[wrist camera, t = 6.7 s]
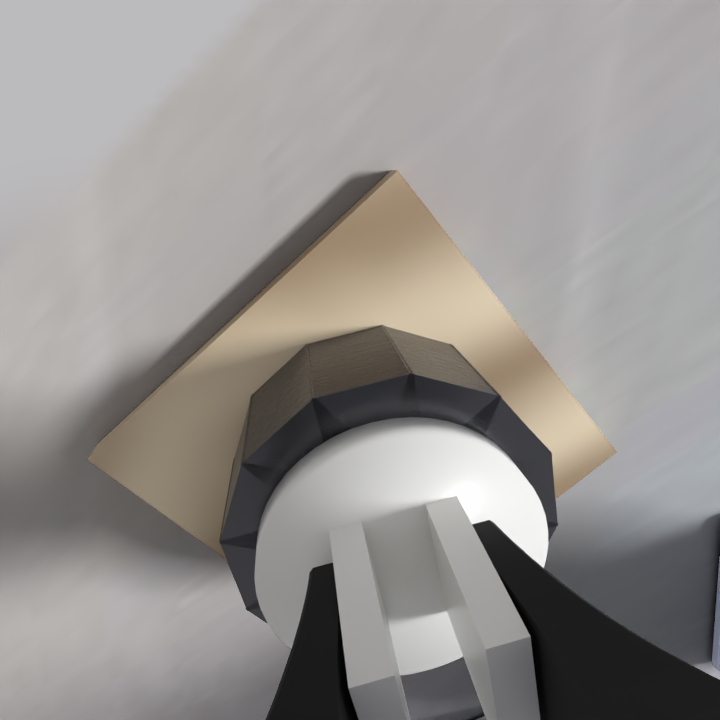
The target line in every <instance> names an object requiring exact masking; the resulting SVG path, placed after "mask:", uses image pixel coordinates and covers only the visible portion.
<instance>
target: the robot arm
mask: <svg viewBox="0 0 720 720" xmlns="http://www.w3.org/2000/svg"><path fill="white" fill-rule="evenodd" d="M472 526H473V527H474V529H475V531H476V533H477V535H478V537H479V539H480V541H481V543H482V545H483V547H484V548H485V550H486V552H487V554H488V556H489V558H490V560H491V562H492V564H493V566H494V568H495V569H496V571H497V573H498V575H499V577H500V579H501V581H502V583H503V585H504V587H505V589H506V591H507V592H508V594H509V596H510V598H511V600H512V602H513V604H514V606H515V608H516V610H517V612H518V613H519V615H520V617H521V619H522V621H523V623H524V625H525V627H526V629H527V631H528V633H529V634H530V636H531V644H532V653H533V661H534V670H535V678H536V687H537V695H538V703H539V712H540V720H720V680H719V679H717V678H715V677H712V676H711V675H709V674H707V673H705V672H703V671H701V670H699V669H697V668H696V667H694V666H692V665H690V664H688V663H686V662H684V661H682V660H680V659H679V658H677V657H675V656H673V655H671V654H669V653H667V652H665V651H664V650H662V649H660V648H658V647H657V646H655V645H653V644H652V643H650V642H648V641H647V640H645V639H643V638H641V637H640V636H638V635H636V634H635V633H633V632H632V631H630V630H628V629H627V628H625V627H624V626H622V625H621V624H619V623H617V622H616V621H614V620H613V619H611V618H610V617H608V616H607V615H605V614H604V613H602V612H601V611H599V610H598V609H597V608H595V607H594V606H592V605H591V604H590V603H588V602H587V601H585V600H584V599H583V598H581V597H580V596H579V595H577V594H576V593H575V592H573V591H572V590H571V589H569V588H568V587H567V586H565V585H564V584H563V583H561V582H560V581H559V580H558V579H556V578H555V577H554V576H553V575H552V574H550V573H549V572H548V571H547V570H545V569H544V568H543V567H542V566H541V565H539V564H538V563H537V562H536V561H535V560H533V559H532V558H531V557H530V556H529V555H528V554H527V553H525V552H524V551H523V550H522V549H521V548H520V547H519V546H518V545H517V544H515V543H514V542H513V541H512V540H511V539H510V538H509V537H508V536H507V535H506V534H505V533H504V532H503V531H502V530H501V529H500V528H499V527H498V526H497V525H496V524H495V523H494V522H492V521H490V520H487V521H483V522H479V523H476V524H472ZM712 664H713V665H714V667H715V668H716V669H717V670H718V671H720V558H719V571H718V585H717V599H716V612H715V626H714V640H713V653H712ZM266 720H358V717H357V713H356V710H355V707H354V704H353V701H352V698H351V695H350V692H349V689H348V682H347V674H346V665H345V657H344V649H343V641H342V632H341V624H340V616H339V608H338V599H337V591H336V583H335V575H334V566H333V563H329V564H325V565H322V566H318V567H314V568H312V570H311V571H310V573H309V580H308V586H307V591H306V596H305V601H304V605H303V609H302V613H301V618H300V621H299V625H298V628H297V632H296V635H295V639H294V642H293V646H292V649H291V652H290V655H289V658H288V661H287V664H286V667H285V670H284V673H283V676H282V678H281V681H280V684H279V687H278V690H277V693H276V695H275V698H274V700H273V703H272V705H271V708H270V710H269V713H268V715H267V718H266Z"/></svg>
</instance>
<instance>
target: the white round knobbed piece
mask: <svg viewBox="0 0 720 720" xmlns="http://www.w3.org/2000/svg"><path fill="white" fill-rule="evenodd" d="M487 520H490V521H492V522H494V523H495V524H496V525H497V526H498V527H499V528H500V529H501V530H502V531H503V532H504V533H505V534H506V535H507V536H508V537H509V538H510V539H511V540H512V541H513V542H514V543H515V544H517V545H518V546H519V547H520V548H521V549H522V550H523V551H524V552H525V553H527V554H528V555H529V556H530V557H531V558H532V559H533V560H535V561H536V562H537V563H538V564H539V565H541V566H542V567H543V568H544V565H545V562H546V557H547V550H548V526H547V521H546V515H545V512H544V509H543V506H542V504H541V501H540V499H539V497H538V495H537V494H536V492H535V490H534V488H533V487H532V485H531V484H530V483H529V482H528V480H527V479H526V478H525V476H524V475H523V474H522V472H521V471H520V470H519V469H518V467H517V466H516V465H515V463H514V462H513V461H512V460H511V459H510V457H509V456H508V455H507V454H506V453H505V452H504V451H503V450H502V449H501V448H500V447H499V446H498V445H497V444H495V443H494V442H493V441H491V440H490V439H488V438H487V437H485V436H484V435H482V434H480V433H478V432H476V431H474V430H472V429H470V428H468V427H465V426H462V425H459V424H456V423H453V422H449V421H445V420H439V419H433V418H419V417H405V418H392V419H386V420H381V421H376V422H371V423H368V424H364V425H361V426H358V427H355V428H352V429H350V430H347V431H345V432H343V433H341V434H339V435H336V436H334V437H332V438H330V439H329V440H327V441H325V442H324V443H322V444H320V445H319V446H317V447H316V448H314V449H313V450H312V451H310V452H309V453H308V454H307V455H305V456H304V457H303V458H301V459H300V460H299V461H298V462H297V463H296V464H295V465H294V466H293V467H292V468H291V469H290V470H289V471H288V472H287V473H286V475H285V476H284V477H283V478H282V480H281V481H280V482H279V484H278V485H277V486H276V488H275V489H274V491H273V493H272V495H271V496H270V498H269V500H268V502H267V504H266V506H265V509H264V512H263V514H262V517H261V520H260V525H259V529H258V534H257V546H256V559H255V576H254V580H255V588H256V595H257V599H258V602H259V605H260V609H261V611H262V613H263V615H264V617H265V619H266V621H267V623H268V624H269V626H270V627H271V629H272V630H273V631H274V633H275V634H276V635H277V636H278V637H279V638H280V639H281V640H282V641H283V642H284V643H285V644H286V645H287V646H288V647H289V648H290V649H292V646H293V642H294V639H295V635H296V632H297V628H298V625H299V621H300V618H301V613H302V609H303V605H304V601H305V596H306V591H307V586H308V580H309V573H310V571H311V570H312V568H314V567H318V566H322V565H325V564H329V563H333V566H334V575H335V583H336V591H337V599H338V608H339V616H340V624H341V632H342V641H343V649H344V657H345V665H346V674H347V682H348V689H349V692H350V695H351V698H352V701H353V704H354V707H355V710H356V713H357V717H358V720H410V716H409V712H408V707H407V703H406V699H405V694H404V690H403V685H402V681H401V677H400V675H407V674H414V673H418V672H422V671H426V670H430V669H433V668H436V667H439V666H442V665H445V664H448V663H450V662H452V661H455V660H457V659H459V658H462V657H464V660H465V662H466V665H467V668H468V671H469V673H470V676H471V679H472V682H473V684H474V687H475V690H476V693H477V695H478V698H479V701H480V704H481V706H482V709H483V712H484V715H485V717H486V720H540V712H539V703H538V695H537V687H536V678H535V670H534V661H533V653H532V644H531V636H530V634H529V633H528V631H527V629H526V627H525V625H524V623H523V621H522V619H521V617H520V615H519V613H518V612H517V610H516V608H515V606H514V604H513V602H512V600H511V598H510V596H509V594H508V592H507V591H506V589H505V587H504V585H503V583H502V581H501V579H500V577H499V575H498V573H497V571H496V569H495V568H494V566H493V564H492V562H491V560H490V558H489V556H488V554H487V552H486V550H485V548H484V547H483V545H482V543H481V541H480V539H479V537H478V535H477V533H476V531H475V529H474V527H473V526H472V524H476V523H479V522H483V521H487Z"/></svg>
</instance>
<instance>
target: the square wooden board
mask: <svg viewBox="0 0 720 720" xmlns="http://www.w3.org/2000/svg"><path fill="white" fill-rule="evenodd" d="M380 325H384V326H386V327H390V328H394V329H397V330H401V331H404V332H408V333H412V334H415V335H419V336H423V337H426V338H430V339H434V340H437V341H441V342H445V343H448V344H452V345H454V347H455V348H456V349H457V350H458V351H459V352H460V353H461V354H462V355H463V356H464V357H465V358H466V359H467V360H468V361H469V362H470V363H471V365H472V366H473V367H474V368H475V369H476V370H477V371H478V372H479V373H480V374H481V375H482V376H483V377H484V378H485V379H486V380H487V381H488V383H489V384H490V385H491V386H492V387H493V388H494V389H495V390H496V391H497V392H498V393H499V394H500V395H501V396H502V397H501V398H502V399H503V400H504V401H505V402H506V403H507V404H508V405H509V407H510V408H511V409H512V410H513V411H514V412H515V413H516V414H517V415H518V417H519V418H520V419H521V420H522V421H523V422H524V423H525V424H526V426H527V427H528V428H529V429H530V430H531V431H532V432H533V433H534V434H535V435H536V436H537V437H538V438H539V439H540V440H541V442H542V443H543V444H544V445H545V446H546V447H547V448H548V449H549V450H550V451H551V452H552V464H553V476H554V488H555V499H557V498H558V497H559V496H561V495H562V494H563V493H564V492H566V491H567V490H568V489H570V488H571V487H572V486H574V485H575V484H576V483H577V482H579V481H580V480H581V479H583V478H584V477H585V476H587V475H588V474H589V473H590V472H592V471H593V470H594V469H596V468H597V467H598V466H600V465H601V464H602V463H603V462H605V461H606V460H607V459H609V458H610V457H611V456H613V455H614V454H615V453H616V452H617V451H616V450H615V449H614V447H613V446H612V445H611V443H610V442H609V441H608V440H607V438H606V437H605V436H604V435H603V433H602V432H601V431H600V429H599V428H598V427H597V426H596V424H595V423H594V422H593V420H592V419H591V418H590V417H589V415H588V414H587V413H586V411H585V410H584V409H583V408H582V406H581V405H580V404H579V402H578V401H577V400H576V399H575V397H574V396H573V395H572V393H571V392H570V391H569V390H568V388H567V387H566V386H565V384H564V383H563V382H562V381H561V379H560V378H559V377H558V375H557V374H556V373H555V372H554V370H553V369H552V368H551V367H550V365H549V364H548V363H547V361H546V360H545V359H544V358H543V356H542V355H541V354H540V352H539V351H538V350H537V349H536V347H535V346H534V345H533V343H532V342H531V341H530V340H529V338H528V337H527V336H526V334H525V333H524V332H523V331H522V329H521V328H520V327H519V325H518V324H517V323H516V322H515V320H514V319H513V318H512V316H511V315H510V314H509V313H508V311H507V310H506V309H505V307H504V306H503V305H502V304H501V302H500V301H499V300H498V299H497V297H496V296H495V295H494V293H493V292H492V291H491V290H490V288H489V287H488V286H487V284H486V283H485V282H484V281H483V279H482V278H481V277H480V275H479V274H478V273H477V272H476V270H475V269H474V268H473V266H472V265H471V264H470V263H469V261H468V260H467V259H466V257H465V256H464V255H463V254H462V252H461V251H460V250H459V248H458V247H457V246H456V245H455V243H454V242H453V241H452V239H451V238H450V237H449V236H448V234H447V233H446V232H445V231H444V229H443V228H442V227H441V225H440V224H439V223H438V222H437V220H436V219H435V218H434V216H433V215H432V214H431V213H430V211H429V210H428V209H427V207H426V206H425V205H424V204H423V202H422V201H421V200H420V198H419V197H418V196H417V195H416V193H415V192H414V191H413V189H412V188H411V187H410V186H409V184H408V183H407V182H406V180H405V179H404V178H403V177H402V175H401V174H400V173H399V171H395V170H391V171H390V172H389V173H388V174H387V175H385V176H384V177H383V178H382V179H381V180H380V181H379V182H378V183H377V184H376V185H375V186H374V187H373V188H371V189H370V190H369V191H368V192H367V193H366V194H365V195H364V196H363V197H362V198H361V199H360V200H359V201H358V202H356V203H355V204H354V205H353V206H352V207H351V208H350V209H349V210H348V211H347V212H346V213H345V214H344V215H343V216H341V217H340V218H339V219H338V220H337V221H336V222H335V223H334V224H333V225H332V226H331V227H330V228H329V229H328V230H326V231H325V232H324V233H323V234H322V235H321V236H320V237H319V238H318V239H317V240H316V241H315V242H314V243H312V244H311V245H310V246H309V247H308V248H307V249H306V250H305V251H304V252H303V253H302V254H301V255H300V256H299V257H297V258H296V259H295V260H294V261H293V262H292V263H291V264H290V265H289V266H288V267H287V268H286V269H285V270H284V271H282V272H281V273H280V274H279V275H278V276H277V277H276V278H275V279H274V280H273V281H272V282H271V283H270V284H268V285H267V286H266V287H265V288H264V289H263V290H262V291H261V292H260V293H259V294H258V295H257V296H256V297H255V298H253V299H252V300H251V301H250V302H249V303H248V304H247V305H246V306H245V307H244V308H243V309H242V310H241V311H240V312H238V313H237V314H236V315H235V316H234V317H233V318H232V319H231V320H230V321H229V322H228V323H227V324H226V325H225V326H223V327H222V328H221V329H220V330H219V331H218V332H217V333H216V334H215V335H214V336H213V337H212V338H211V339H209V340H208V341H207V342H206V343H205V344H204V345H203V346H202V347H201V348H200V349H199V350H198V351H197V352H196V353H194V354H193V355H192V356H191V357H190V358H189V359H188V360H187V361H186V362H185V363H184V364H183V365H182V366H181V367H179V368H178V369H177V370H176V371H175V372H174V373H173V374H172V375H171V376H170V377H169V378H168V379H167V380H166V381H164V382H163V383H162V384H161V385H160V386H159V387H158V388H157V389H156V390H155V391H154V392H153V393H152V394H150V395H149V396H148V397H147V398H146V399H145V400H144V401H143V402H142V403H141V404H140V405H139V406H138V407H137V408H135V409H134V410H133V411H132V412H131V413H130V414H129V415H128V416H127V417H126V418H125V419H124V420H123V421H122V422H120V423H119V424H118V425H117V426H116V427H115V428H114V429H113V430H112V431H111V432H110V433H109V434H108V435H106V436H105V437H104V438H103V439H102V440H101V441H100V442H99V443H98V444H97V446H96V447H95V448H94V450H93V451H92V453H91V454H90V456H89V457H88V459H87V460H88V461H90V462H91V463H92V464H94V465H95V466H97V467H98V468H99V469H101V470H102V471H104V472H105V473H106V474H108V475H109V476H111V477H112V478H113V479H115V480H116V481H118V482H119V483H120V484H122V485H123V486H125V487H126V488H127V489H129V490H130V491H131V492H133V493H134V494H136V495H137V496H138V497H140V498H141V499H143V500H144V501H145V502H147V503H148V504H150V505H151V506H152V507H154V508H155V509H157V510H158V511H159V512H161V513H162V514H164V515H165V516H166V517H168V518H169V519H170V520H172V521H173V522H175V523H176V524H177V525H179V526H180V527H182V528H183V529H184V530H186V531H187V532H189V533H190V534H191V535H193V536H194V537H196V538H197V539H198V540H200V541H201V542H203V543H204V544H205V545H207V546H208V547H210V548H211V549H212V550H214V551H215V552H216V553H218V554H219V555H221V556H222V557H223V558H225V559H226V557H225V554H224V552H223V549H222V547H221V544H219V543H220V542H219V539H220V534H221V528H222V522H223V517H224V511H225V505H226V500H227V494H228V488H229V482H230V477H231V471H232V465H233V460H234V458H235V454H236V451H237V447H238V443H239V440H240V436H241V432H242V429H243V425H244V421H245V418H246V414H247V410H248V407H249V403H250V397H251V395H252V394H253V393H254V392H255V391H257V390H258V389H259V388H260V387H261V386H262V385H263V384H264V383H265V382H266V381H267V380H268V379H269V378H271V377H272V376H273V375H274V374H275V373H276V372H277V371H278V370H279V369H280V368H281V367H282V366H283V365H285V364H286V363H287V362H288V361H289V360H290V359H291V358H292V357H293V356H294V355H295V354H296V353H297V352H299V351H300V350H301V349H302V348H303V347H304V346H305V344H307V343H308V344H309V343H313V342H317V341H321V340H325V339H329V338H333V337H337V336H341V335H345V334H349V333H353V332H357V331H361V330H365V329H369V328H373V327H377V326H380ZM226 560H227V559H226Z"/></svg>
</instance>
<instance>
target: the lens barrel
mask: <svg viewBox="0 0 720 720" xmlns="http://www.w3.org/2000/svg"><path fill="white" fill-rule="evenodd" d="M501 397H502V396H501V395H500V394H499V393H498V392H497V391H496V390H495V389H494V388H493V387H492V386H491V385H490V384H489V383H488V381H487V380H486V379H485V378H484V377H483V376H482V375H481V374H480V373H479V372H478V371H477V370H476V369H475V368H474V367H473V366H472V365H471V363H470V362H469V361H468V360H467V359H466V358H465V357H464V356H463V355H462V354H461V353H460V352H459V351H458V350H457V349H456V348H455V347H454V345H452V344H448V343H445V342H441V341H437V340H434V339H430V338H426V337H423V336H419V335H415V334H412V333H408V332H404V331H401V330H397V329H394V328H390V327H386V326H384V325H380V326H377V327H373V328H369V329H365V330H361V331H357V332H353V333H349V334H345V335H341V336H337V337H333V338H329V339H325V340H321V341H317V342H313V343H309V344H308V343H307V344H305V346H304V347H303V348H302V349H301V350H300V351H299V352H297V353H296V354H295V355H294V356H293V357H292V358H291V359H290V360H289V361H288V362H287V363H286V364H285V365H283V366H282V367H281V368H280V369H279V370H278V371H277V372H276V373H275V374H274V375H273V376H272V377H271V378H269V379H268V380H267V381H266V382H265V383H264V384H263V385H262V386H261V387H260V388H259V389H258V390H257V391H255V392H254V393H253V394H252V395H251V397H250V403H249V407H248V410H247V414H246V418H245V421H244V425H243V429H242V432H241V436H240V440H239V443H238V447H237V451H236V454H235V458H234V460H233V465H232V471H231V477H230V482H229V488H228V494H227V500H226V505H225V511H224V517H223V522H222V528H221V534H220V539H219V542H220V543H219V544H221V547H222V549H223V552H224V554H225V557H226V559H227V562H228V564H229V567H230V569H231V571H232V574H233V576H234V579H235V581H236V584H237V586H238V589H239V591H240V594H241V596H242V599H243V601H244V604H245V606H246V610H247V611H250V612H251V613H253V614H254V615H256V616H257V617H259V618H260V619H262V620H263V621H265V622H266V623H267V621H266V619H265V617H264V615H263V613H262V611H261V609H260V605H259V602H258V599H257V595H256V588H255V580H254V576H255V559H256V546H257V534H258V529H259V525H260V520H261V517H262V514H263V512H264V509H265V506H266V504H267V502H268V500H269V498H270V496H271V495H272V493H273V491H274V489H275V488H276V486H277V485H278V484H279V482H280V481H281V480H282V478H283V477H284V476H285V475H286V473H287V472H288V471H289V470H290V469H291V468H292V467H293V466H294V465H295V464H296V463H297V462H298V461H299V460H300V459H301V458H303V457H304V456H305V455H307V454H308V453H309V452H310V451H312V450H313V449H314V448H316V447H317V446H319V445H320V444H322V443H324V442H325V441H327V440H329V439H330V438H332V437H334V436H336V435H339V434H341V433H343V432H345V431H347V430H350V429H352V428H355V427H358V426H361V425H364V424H368V423H371V422H376V421H381V420H386V419H392V418H405V417H419V418H433V419H439V420H445V421H449V422H453V423H456V424H459V425H462V426H465V427H468V428H470V429H472V430H474V431H476V432H478V433H480V434H482V435H484V436H485V437H487V438H488V439H490V440H491V441H493V442H494V443H495V444H497V445H498V446H499V447H500V448H501V449H502V450H503V451H504V452H505V453H506V454H507V455H508V456H509V457H510V459H511V460H512V461H513V462H514V463H515V465H516V466H517V467H518V469H519V470H520V471H521V472H522V474H523V475H524V476H525V478H526V479H527V480H528V482H529V483H530V484H531V485H532V487H533V488H534V490H535V492H536V494H537V495H538V497H539V499H540V501H541V504H542V506H543V509H544V512H545V515H546V521H547V526H548V542H549V540H550V538H551V536H552V534H553V532H554V530H555V528H556V526H558V523H557V513H556V501H555V488H554V476H553V464H552V452H551V451H550V450H549V449H548V448H547V447H546V446H545V445H544V444H543V443H542V442H541V440H540V439H539V438H538V437H537V436H536V435H535V434H534V433H533V432H532V431H531V430H530V429H529V428H528V427H527V426H526V424H525V423H524V422H523V421H522V420H521V419H520V418H519V417H518V415H517V414H516V413H515V412H514V411H513V410H512V409H511V408H510V407H509V405H508V404H507V403H506V402H505V401H504V400H503V399H502V398H501Z"/></svg>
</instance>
